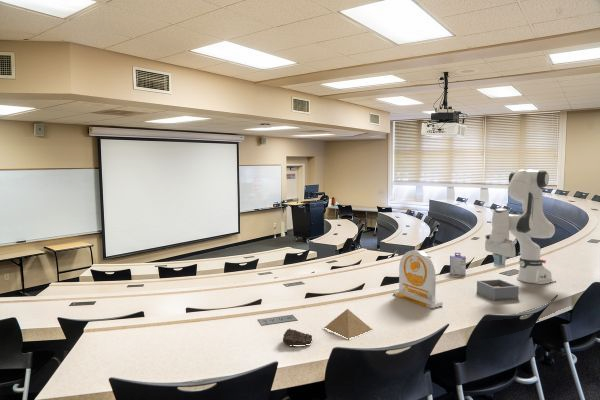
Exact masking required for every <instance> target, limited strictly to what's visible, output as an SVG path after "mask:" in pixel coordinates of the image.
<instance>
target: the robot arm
mask: <svg viewBox="0 0 600 400" xmlns="http://www.w3.org/2000/svg"><path fill="white" fill-rule="evenodd" d="M549 181H550V175H549V172H547V171H546V170H542V169H540V170H536V169H527V170H525V169H519V170H514V171H511V173H509V175H508V184H509V185H508V187H507V194H508V196H509V197H510V199H512V200H514V201H516V202H519V203H521V204H522V205H521V209H522V212H523V213H521V214H514V213H509V209H508V208H502V207H500V208H496V209H495V208H494V210H493V211H492V219H491V226H492V230H491V233H490V234H485V236H484V237H485V243H484V249H485V251H486V252H489V253H491V254H492V257H493V258H494V254H499V255H502V257H503V258H502V260H501V263H503V264H505V265H506V261H507V259H508V258H515V257H516V253H517V252H516V245H515V243H514V241H513V239H512V240H511V239H510V234H511V235H512V236H514V237H515V238H516V239H517V242H518V243H519V249H520V251H519V252H520V254H519V255H520V257H519V263H518V264H519V267H518V268H519V270H518V273H517V277H516V280H517V281H520V282H524V283H529V284H537V285H538V284H539V285H544V284H551V283H555V281H556V280H557V279H555V278H553V275H552V272H551V270H549V269H548V268H547V267H545V266H544V265H543V264H546V263H547V260H546V259H541V251H542V250H541V249H542V248H541V246H540V245H539V244H537V243H536V242H534V241H533V240H532V238H536V239H550V238H552V237H553V236H554V235H555V233H556V227H555V225H554V224H553V223H552V222H551V221H550V220H548V218H547V217H546V215H545V214H544V210H543V196H544V195H543V189H544V188H546V187H547V186H548V185H549ZM550 282H551V283H550ZM556 282H557V281H556Z"/></svg>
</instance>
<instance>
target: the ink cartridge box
mask: <svg viewBox="0 0 600 400" xmlns="http://www.w3.org/2000/svg"><path fill="white" fill-rule="evenodd" d="M466 264H467V257H466V256H465V255H461V252H454V255H449V274H450V275H454V274H458V275H459V276H460V275H461V276H466V275H467V273H466V270H467V265H466ZM458 275H457V276H458Z"/></svg>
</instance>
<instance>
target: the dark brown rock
mask: <svg viewBox="0 0 600 400" xmlns="http://www.w3.org/2000/svg"><path fill="white" fill-rule="evenodd" d="M312 339H313V335H311V334H309V333H305V332H301V331H299V330H296V329H292V328H288V329H286V331H285V332H284V334H283V338H282V342H283V343H284V344H285V345H288V344H289V345H306V344H310V343H311V344H312V342H313V340H312ZM311 341H312V342H311ZM289 345H288V346H289ZM306 346H307V345H306Z"/></svg>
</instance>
